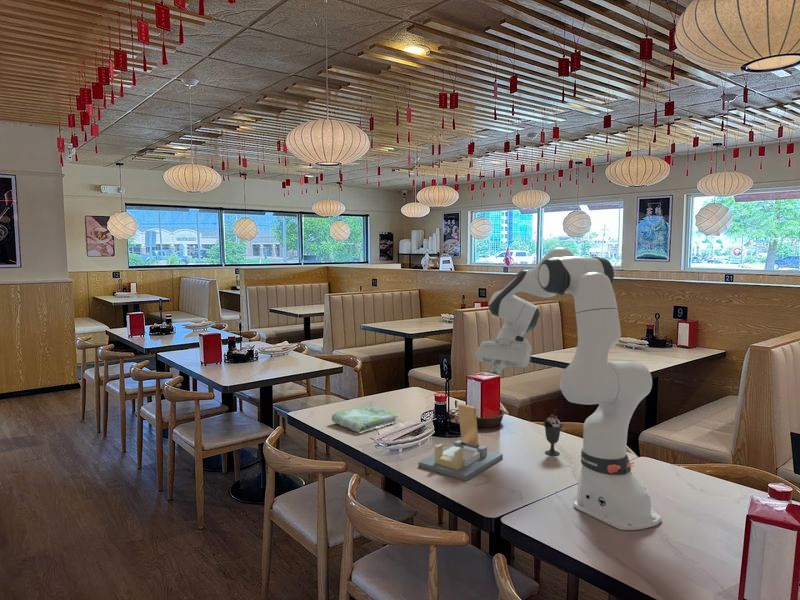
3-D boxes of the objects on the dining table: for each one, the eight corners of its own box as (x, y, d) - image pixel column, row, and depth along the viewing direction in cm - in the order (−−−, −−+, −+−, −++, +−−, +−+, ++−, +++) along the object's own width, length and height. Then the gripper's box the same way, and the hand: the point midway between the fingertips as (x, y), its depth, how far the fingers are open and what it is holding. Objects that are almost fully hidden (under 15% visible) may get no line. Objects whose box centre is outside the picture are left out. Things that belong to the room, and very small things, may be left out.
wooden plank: (464, 443, 184) (460, 403, 181) (479, 447, 181) (475, 406, 177) (461, 445, 183) (457, 405, 180) (476, 449, 179) (473, 408, 176)
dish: (449, 424, 218) (449, 412, 218) (480, 413, 234) (480, 401, 234) (485, 434, 206) (485, 421, 206) (515, 421, 222) (516, 409, 222)
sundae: (560, 450, 189) (560, 408, 187) (564, 457, 182) (564, 413, 181) (540, 449, 189) (541, 407, 188) (544, 456, 182) (544, 413, 181)
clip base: (457, 446, 192) (457, 427, 192) (502, 458, 181) (502, 438, 180) (418, 466, 175) (418, 445, 174) (465, 480, 163) (465, 458, 163)
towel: (399, 423, 221) (399, 411, 220) (358, 435, 206) (358, 422, 206) (370, 414, 234) (370, 402, 233) (330, 425, 219) (330, 412, 219)
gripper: (480, 334, 204) (466, 363, 197) (530, 339, 191) (517, 370, 184) (486, 344, 208) (473, 373, 201) (536, 349, 195) (523, 381, 188)
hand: (494, 372), depth 193 cm, fingers closed
